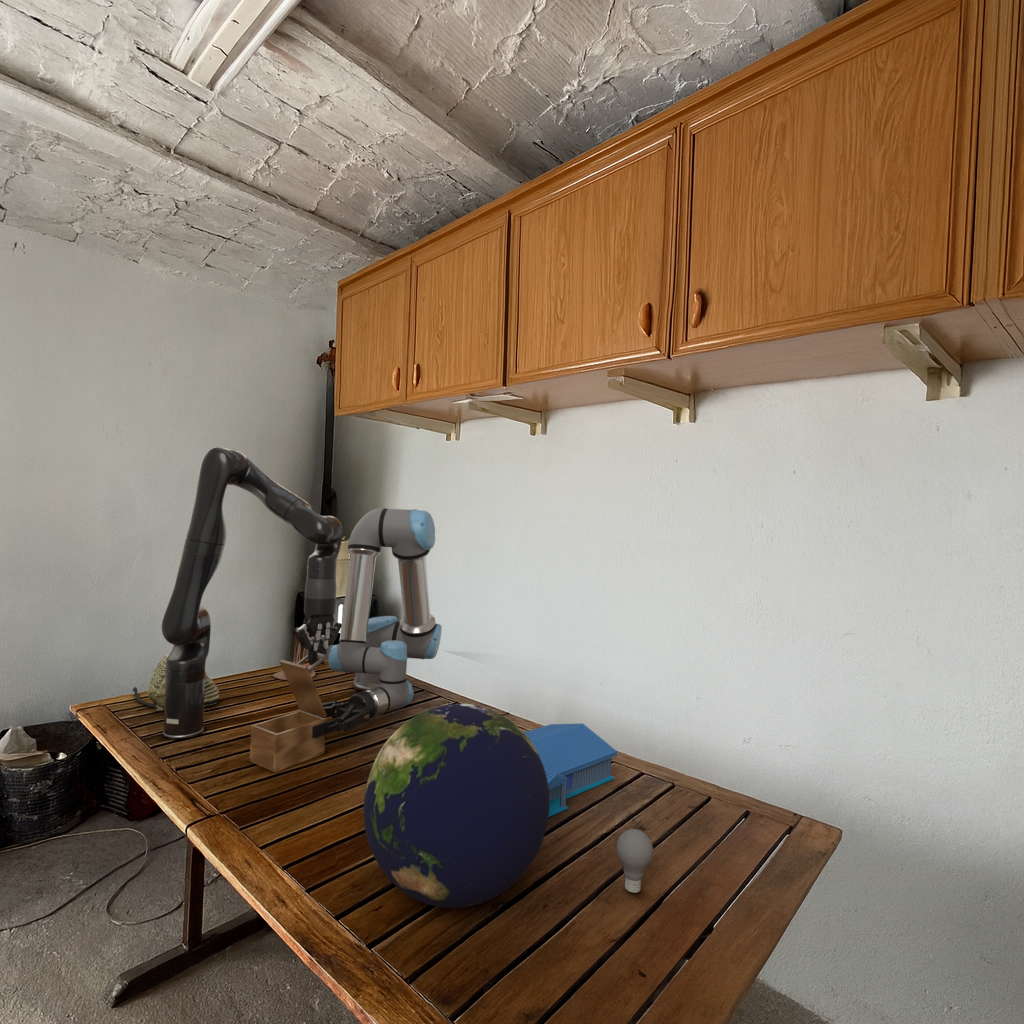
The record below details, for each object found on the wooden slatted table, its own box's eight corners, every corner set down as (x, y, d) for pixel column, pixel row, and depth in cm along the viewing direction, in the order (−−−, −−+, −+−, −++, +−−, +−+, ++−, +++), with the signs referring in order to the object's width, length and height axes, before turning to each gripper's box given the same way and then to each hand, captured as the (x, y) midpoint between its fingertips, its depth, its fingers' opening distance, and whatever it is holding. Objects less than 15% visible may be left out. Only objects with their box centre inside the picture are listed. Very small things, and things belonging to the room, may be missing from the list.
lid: (304, 668, 150) (329, 648, 156) (279, 661, 155) (304, 642, 161) (324, 718, 156) (347, 696, 162) (299, 709, 161) (322, 689, 167)
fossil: (144, 707, 182) (145, 655, 182) (212, 696, 194) (213, 647, 194) (151, 716, 175) (153, 662, 175) (221, 703, 188) (223, 653, 188)
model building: (497, 839, 120) (500, 786, 120) (424, 791, 138) (425, 745, 138) (625, 783, 146) (627, 740, 146) (549, 749, 164) (551, 711, 164)
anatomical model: (267, 666, 215) (286, 658, 227) (267, 678, 215) (286, 669, 227) (303, 670, 213) (320, 662, 224) (303, 682, 213) (320, 673, 224)
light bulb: (610, 879, 108) (613, 822, 108) (644, 879, 109) (647, 822, 109) (619, 902, 102) (622, 840, 102) (655, 901, 103) (658, 840, 103)
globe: (319, 919, 95) (326, 721, 95) (420, 827, 123) (427, 673, 122) (502, 984, 84) (511, 760, 83) (568, 867, 112) (576, 698, 111)
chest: (274, 772, 144) (276, 735, 144) (249, 761, 150) (251, 725, 149) (324, 753, 156) (325, 718, 156) (299, 743, 161) (300, 710, 161)
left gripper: (307, 599, 151) (304, 672, 151) (351, 594, 162) (348, 662, 162) (287, 595, 155) (284, 666, 155) (332, 591, 167) (328, 657, 167)
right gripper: (396, 727, 168) (329, 754, 149) (339, 709, 180) (270, 731, 161) (397, 699, 168) (330, 722, 149) (340, 683, 180) (271, 702, 161)
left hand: (317, 663), depth 159 cm, fingers closed on lid, 2 cm apart
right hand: (299, 727), depth 155 cm, fingers closed on chest, 9 cm apart
